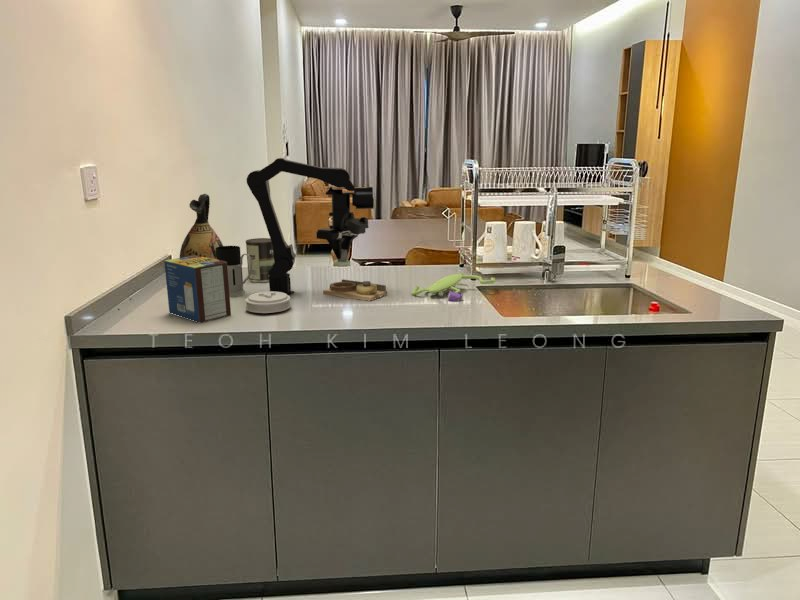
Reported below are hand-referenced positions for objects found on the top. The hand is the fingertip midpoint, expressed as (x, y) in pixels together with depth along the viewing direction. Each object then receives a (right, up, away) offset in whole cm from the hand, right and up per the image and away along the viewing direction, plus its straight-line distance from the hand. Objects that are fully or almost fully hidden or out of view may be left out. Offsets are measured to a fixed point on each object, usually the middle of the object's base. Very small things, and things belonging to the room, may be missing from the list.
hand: (342, 258), depth 194 cm
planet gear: (0, -2, 0) cm, 2 cm away
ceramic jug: (-51, -6, +22) cm, 55 cm away
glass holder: (-34, -12, 0) cm, 36 cm away
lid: (-20, -17, -17) cm, 31 cm away
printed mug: (-30, -6, +22) cm, 38 cm away
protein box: (-38, -18, -22) cm, 48 cm away
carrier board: (+4, -12, 0) cm, 12 cm away
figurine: (+37, -11, +4) cm, 38 cm away
